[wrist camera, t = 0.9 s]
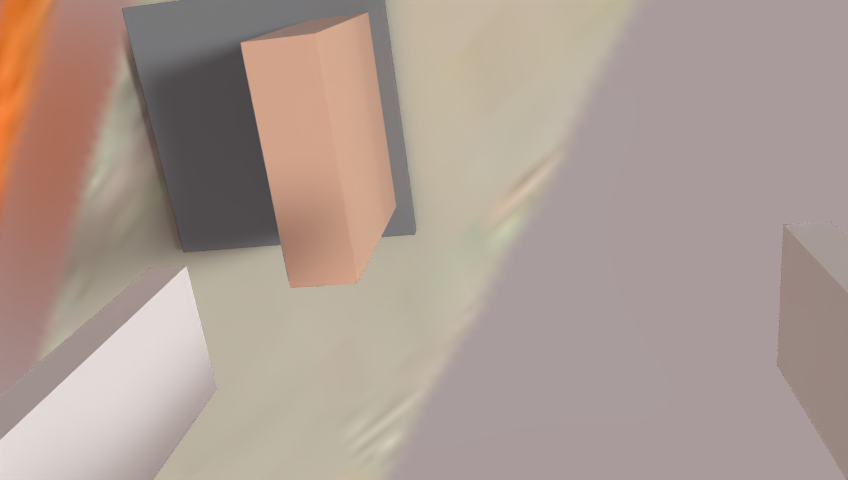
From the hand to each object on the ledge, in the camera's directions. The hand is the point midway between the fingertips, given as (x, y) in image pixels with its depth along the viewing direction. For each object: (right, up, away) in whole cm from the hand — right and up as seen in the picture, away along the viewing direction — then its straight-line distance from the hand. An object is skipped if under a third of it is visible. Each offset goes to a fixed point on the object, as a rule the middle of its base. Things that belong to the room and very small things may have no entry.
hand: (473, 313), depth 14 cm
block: (-4, +7, +21) cm, 22 cm away
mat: (-8, +7, +22) cm, 24 cm away
